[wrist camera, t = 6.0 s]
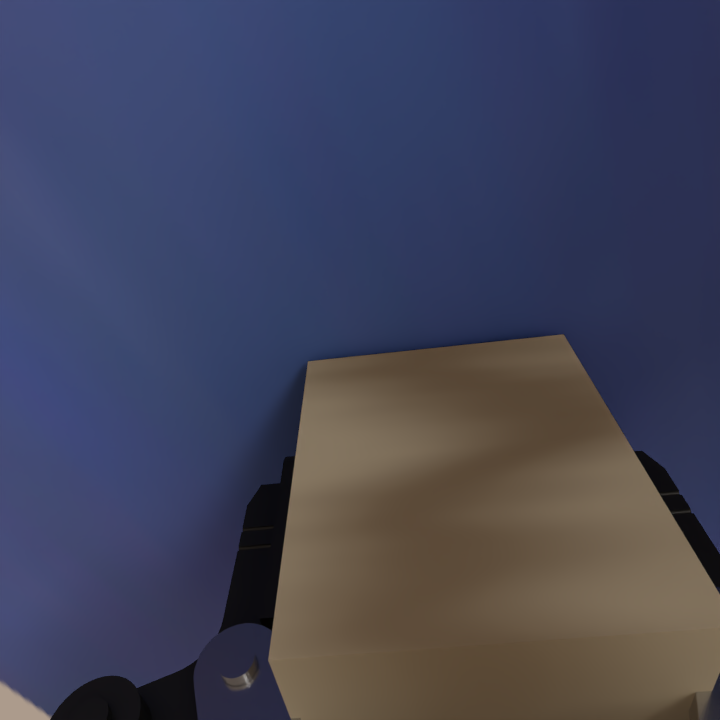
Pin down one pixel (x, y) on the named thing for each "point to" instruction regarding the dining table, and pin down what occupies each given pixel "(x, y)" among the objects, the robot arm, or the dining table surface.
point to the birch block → (481, 549)
